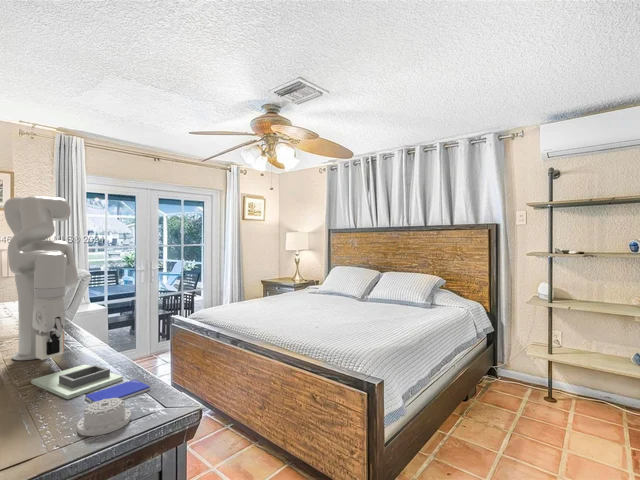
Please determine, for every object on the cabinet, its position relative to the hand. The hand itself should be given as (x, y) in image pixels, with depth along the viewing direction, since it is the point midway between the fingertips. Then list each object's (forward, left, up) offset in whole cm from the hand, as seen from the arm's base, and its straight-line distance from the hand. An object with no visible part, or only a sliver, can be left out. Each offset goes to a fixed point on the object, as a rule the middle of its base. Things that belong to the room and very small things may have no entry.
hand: (49, 351), depth 107 cm
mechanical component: (+47, -9, -6) cm, 48 cm away
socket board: (+17, 0, -6) cm, 18 cm away
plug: (0, 0, -1) cm, 1 cm away
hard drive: (+35, +1, -7) cm, 36 cm away
